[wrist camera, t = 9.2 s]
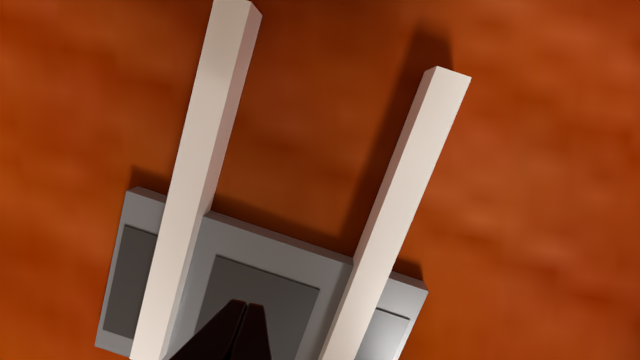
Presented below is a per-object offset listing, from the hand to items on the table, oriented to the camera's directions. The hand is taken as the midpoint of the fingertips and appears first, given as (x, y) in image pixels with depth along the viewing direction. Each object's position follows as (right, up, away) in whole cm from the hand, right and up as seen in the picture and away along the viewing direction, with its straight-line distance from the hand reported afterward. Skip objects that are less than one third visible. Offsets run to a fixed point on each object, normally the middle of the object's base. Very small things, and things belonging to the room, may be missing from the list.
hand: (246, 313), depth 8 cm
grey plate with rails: (0, +1, +9) cm, 9 cm away
